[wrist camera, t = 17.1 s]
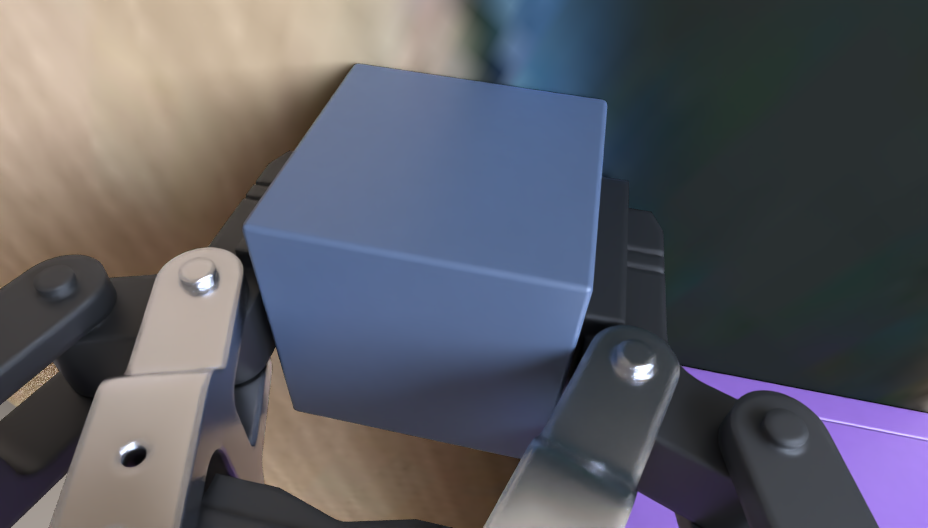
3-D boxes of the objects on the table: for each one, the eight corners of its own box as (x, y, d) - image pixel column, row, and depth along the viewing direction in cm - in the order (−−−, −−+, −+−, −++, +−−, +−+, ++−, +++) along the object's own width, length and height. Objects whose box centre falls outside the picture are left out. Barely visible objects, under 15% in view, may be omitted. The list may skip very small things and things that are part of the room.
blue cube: (353, 60, 11) (237, 226, 8) (608, 98, 11) (593, 291, 7) (370, 243, 14) (292, 411, 11) (564, 278, 14) (541, 465, 11)
